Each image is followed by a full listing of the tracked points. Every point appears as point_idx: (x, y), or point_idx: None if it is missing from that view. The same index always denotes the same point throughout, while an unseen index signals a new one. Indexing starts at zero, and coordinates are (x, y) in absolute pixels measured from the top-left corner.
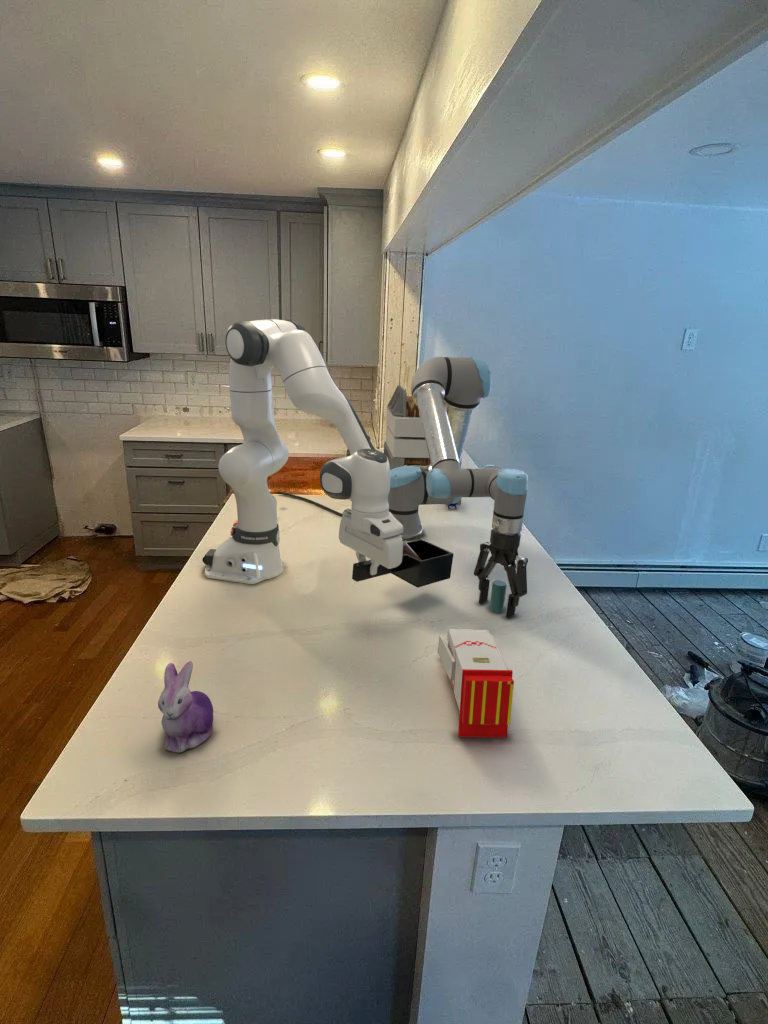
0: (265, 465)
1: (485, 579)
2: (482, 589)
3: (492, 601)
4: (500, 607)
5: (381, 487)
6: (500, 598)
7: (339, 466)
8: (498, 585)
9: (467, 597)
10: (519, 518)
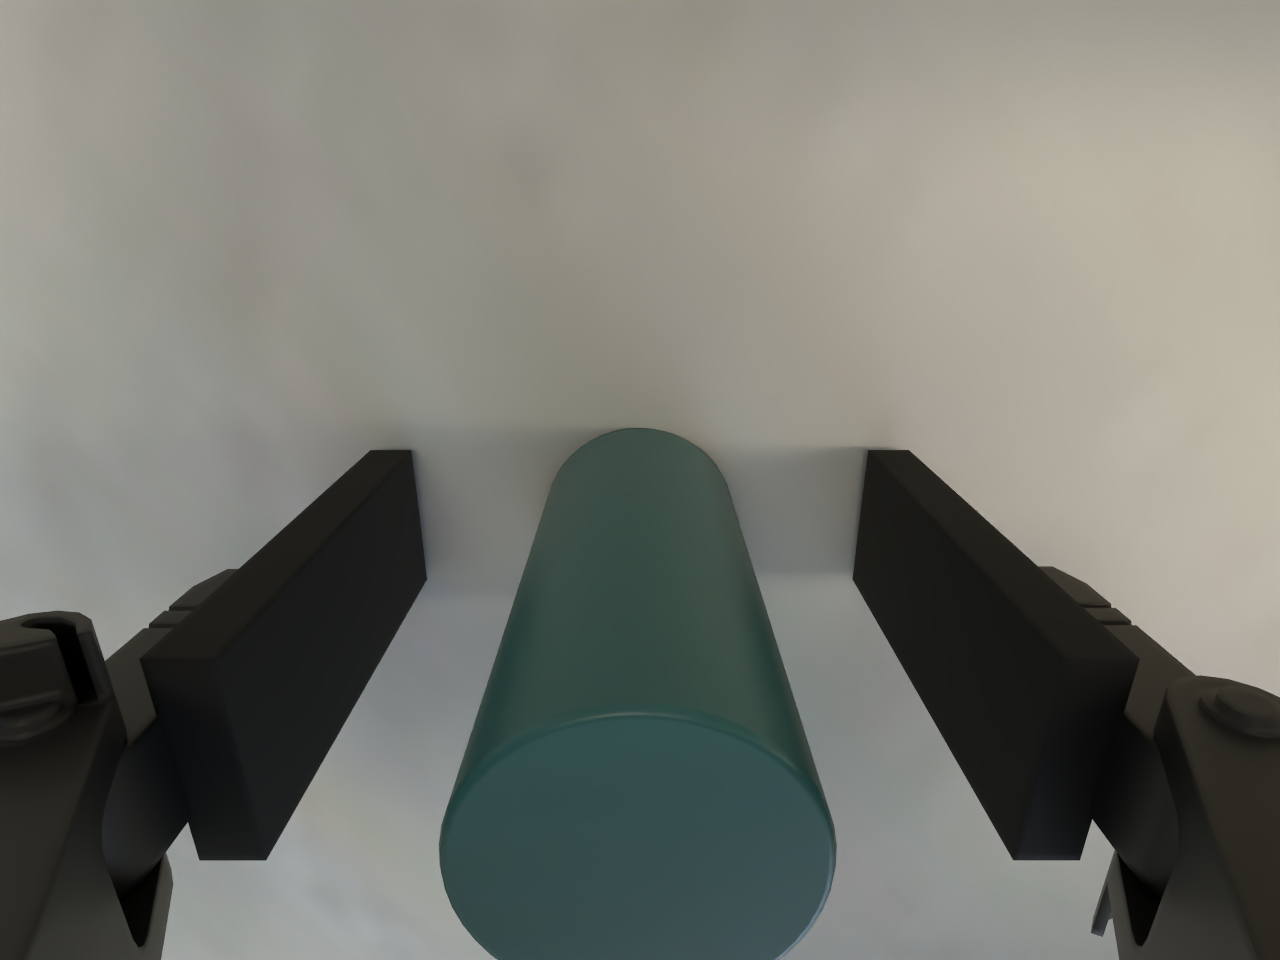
0: None
1: (1105, 803)
2: (976, 562)
3: (660, 486)
4: (541, 518)
5: None
6: (524, 580)
7: None
8: (547, 741)
9: (1128, 460)
10: None
